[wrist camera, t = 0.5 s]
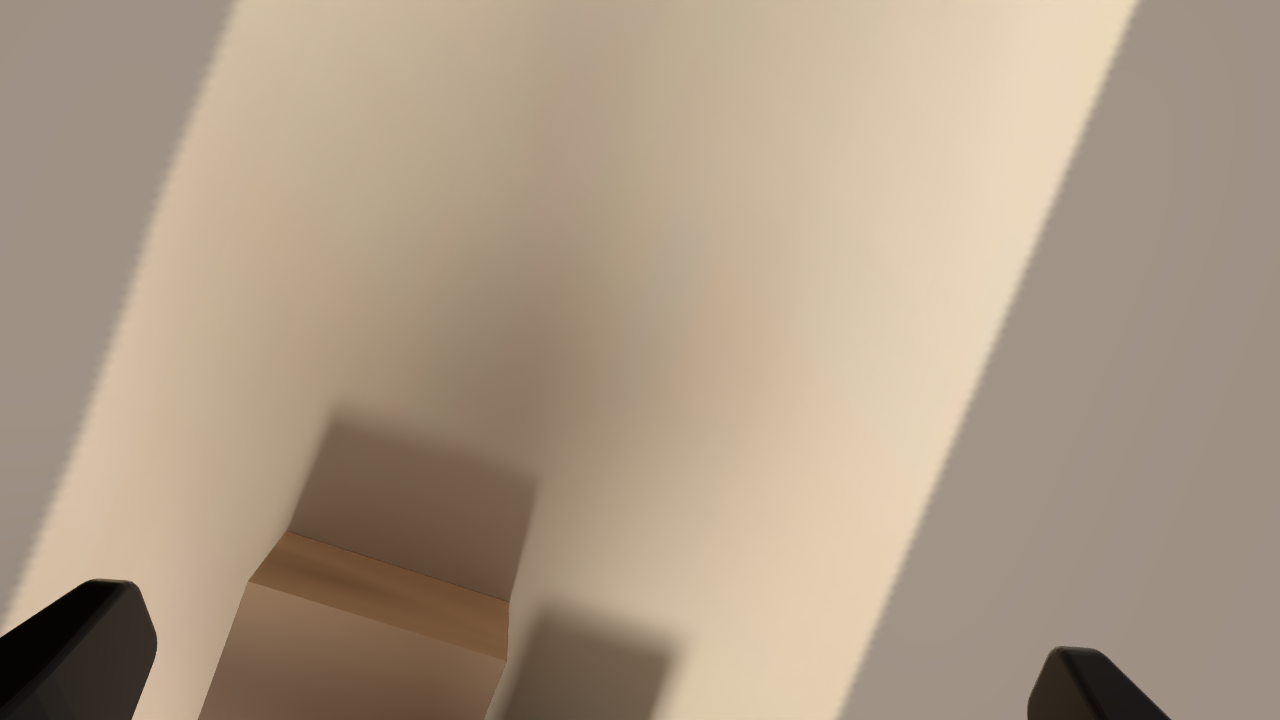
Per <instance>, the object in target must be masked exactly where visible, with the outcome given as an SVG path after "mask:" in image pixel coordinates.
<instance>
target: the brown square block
mask: <svg viewBox="0 0 1280 720" xmlns="http://www.w3.org/2000/svg"><path fill="white" fill-rule="evenodd" d="M508 620H509V602H507V601H504V600H500V599H497V598H494V597H491V596H488V595H485V594H482V593H479V592H475V591H472V590H469V589H466V588H463V587H460V586H457V585H454V584H450V583H447V582H444V581H441V580H438V579H435V578H432V577H429V576H425V575H422V574H419V573H416V572H413V571H410V570H407V569H404V568H400V567H397V566H394V565H391V564H388V563H385V562H382V561H379V560H375V559H372V558H369V557H366V556H363V555H360V554H357V553H354V552H350V551H347V550H344V549H341V548H338V547H335V546H332V545H329V544H325V543H322V542H319V541H316V540H313V539H310V538H307V537H304V536H300V535H297V534H294V533H291V532H288V531H286V532H285V534H284V535H283V536H282V538H281V539H280V540H279V542H278V543H277V544H276V545H275V547H274V548H273V549H272V551H271V552H270V553H269V555H268V556H267V557H266V559H265V560H264V561H263V562H262V564H261V565H260V566H259V568H258V569H257V570H256V572H255V573H254V574H253V575H252V577H251V578H250V579H249V581H248V583H247V586H246V588H245V591H244V594H243V597H242V599H241V602H240V605H239V608H238V611H237V613H236V616H235V619H234V622H233V624H232V627H231V630H230V633H229V635H228V638H227V641H226V644H225V646H224V649H223V652H222V655H221V657H220V660H219V663H218V666H217V669H216V671H215V674H214V677H213V680H212V682H211V685H210V688H209V691H208V693H207V696H206V699H205V702H204V704H203V707H202V710H201V713H200V716H199V718H198V720H484V717H485V715H486V712H487V709H488V707H489V704H490V702H491V699H492V697H493V694H494V692H495V689H496V687H497V684H498V682H499V679H500V677H501V674H502V672H503V669H504V667H505V664H506V662H507V643H508Z"/></svg>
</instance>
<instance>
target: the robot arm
mask: <svg viewBox="0 0 1280 720" xmlns="http://www.w3.org/2000/svg"><path fill="white" fill-rule="evenodd" d="M156 651H157V635H156V632H155V629H154V626H153V623H152V621H151V618H150V615H149V613H148V610H147V607H146V605H145V602H144V599H143V597H142V594H141V591H140V589H139V587H138V586H137V585H136V584H134V583H133V582H131V581H127V580H113V579H92V580H89V581H86V582H84V583H82V584H81V585H79V586H77V587H76V588H74V589H73V590H71V591H70V592H68V593H67V594H65V595H64V596H62V597H61V598H59V599H58V600H56V601H55V602H53V603H52V604H50V605H49V606H47V607H46V608H44V609H43V610H41V611H40V612H38V613H37V614H35V615H34V616H32V617H31V618H29V619H28V620H26V621H25V622H23V623H22V624H20V625H19V626H17V627H16V628H14V629H13V630H11V631H10V632H8V633H7V634H5V635H4V636H2V637H1V638H0V720H132V717H133V714H134V712H135V709H136V706H137V704H138V701H139V699H140V696H141V693H142V691H143V688H144V686H145V683H146V680H147V678H148V675H149V673H150V670H151V667H152V665H153V662H154V659H155V655H156ZM1027 717H1028V718H1027V719H1028V720H1171V719H1170V718H1169V717H1168V716H1167V715H1166V714H1165V713H1164V712H1163V711H1162V710H1161V709H1160V708H1159V707H1158V706H1157V705H1156V704H1155V703H1154V702H1153V701H1152V700H1151V699H1150V698H1149V697H1147V695H1145V693H1143V692H1142V691H1141V690H1140V689H1139V688H1138V687H1137V686H1136V685H1135V684H1134V683H1133V682H1132V681H1131V680H1130V679H1129V678H1128V677H1127V676H1126V675H1125V674H1124V673H1123V672H1122V671H1121V670H1120V669H1119V668H1118V667H1117V666H1116V665H1115V664H1114V663H1113V662H1112V661H1111V660H1110V659H1109V658H1108V657H1106V656H1105V655H1104V654H1102V653H1101V652H1099V651H1097V650H1095V649H1091V648H1080V647H1066V646H1059V647H1055V648H1054V649H1053V650H1051V651H1050V653H1049V654H1048V656H1047V658H1046V660H1045V663H1044V665H1043V667H1042V670H1041V672H1040V674H1039V676H1038V678H1037V680H1036V683H1035V685H1034V687H1033V689H1032V692H1031V694H1030V697H1029V700H1028V706H1027Z"/></svg>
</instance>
